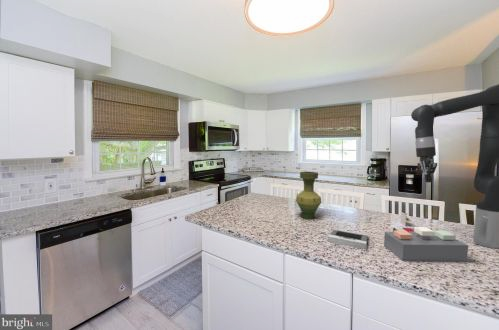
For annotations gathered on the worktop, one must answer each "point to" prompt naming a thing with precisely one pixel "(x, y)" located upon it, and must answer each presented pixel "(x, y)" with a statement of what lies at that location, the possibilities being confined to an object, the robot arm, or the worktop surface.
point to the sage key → (444, 235)
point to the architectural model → (404, 219)
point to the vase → (308, 196)
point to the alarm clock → (348, 238)
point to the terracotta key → (402, 234)
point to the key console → (426, 248)
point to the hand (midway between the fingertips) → (428, 182)
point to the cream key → (423, 232)
